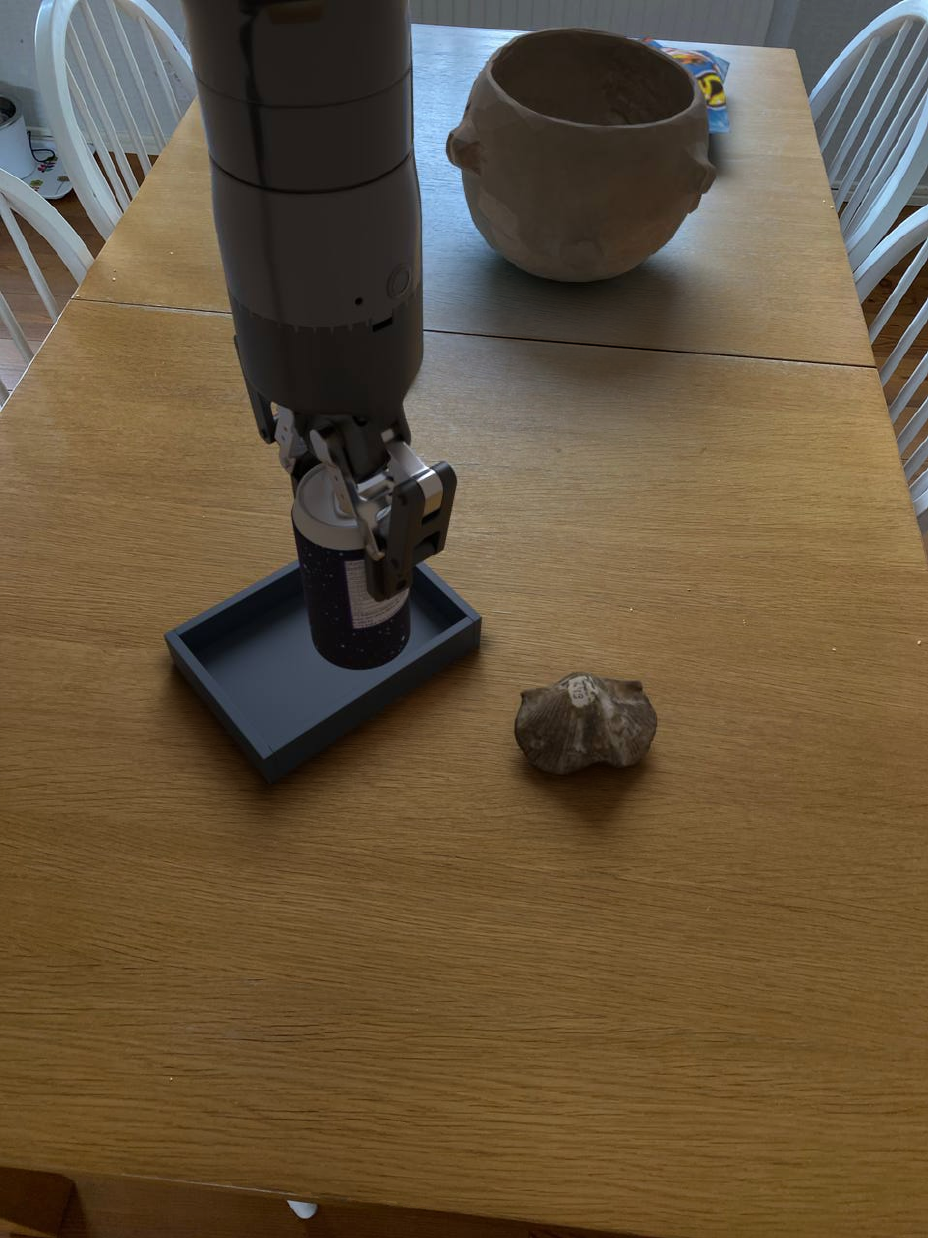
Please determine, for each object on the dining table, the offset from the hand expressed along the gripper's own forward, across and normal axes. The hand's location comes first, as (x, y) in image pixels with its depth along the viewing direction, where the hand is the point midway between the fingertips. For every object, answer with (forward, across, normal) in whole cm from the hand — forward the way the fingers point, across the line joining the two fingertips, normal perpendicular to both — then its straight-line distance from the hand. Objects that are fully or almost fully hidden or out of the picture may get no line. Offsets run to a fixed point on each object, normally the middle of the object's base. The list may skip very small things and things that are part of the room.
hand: (353, 553), depth 50 cm
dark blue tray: (+24, -11, +3) cm, 26 cm away
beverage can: (+8, 0, 0) cm, 8 cm away
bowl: (+25, -41, +57) cm, 74 cm away
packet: (+25, -57, +90) cm, 109 cm away
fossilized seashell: (+24, +7, +14) cm, 29 cm away
